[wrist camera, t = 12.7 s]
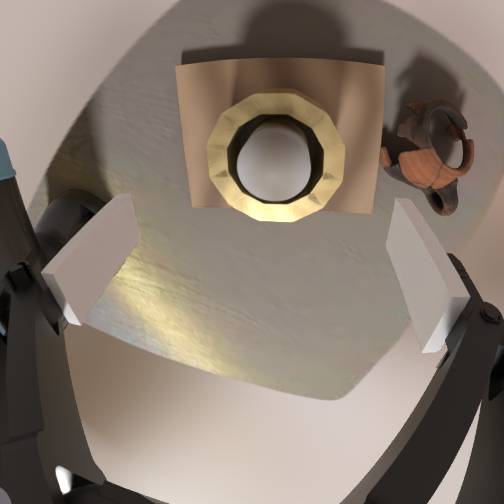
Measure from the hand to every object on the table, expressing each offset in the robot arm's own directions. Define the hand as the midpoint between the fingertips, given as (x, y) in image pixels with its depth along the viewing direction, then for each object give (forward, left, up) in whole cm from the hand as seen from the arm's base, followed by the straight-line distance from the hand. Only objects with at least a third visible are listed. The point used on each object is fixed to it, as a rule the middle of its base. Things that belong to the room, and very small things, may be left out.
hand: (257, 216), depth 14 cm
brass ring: (0, 0, -14) cm, 14 cm away
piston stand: (0, 0, -18) cm, 18 cm away
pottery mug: (+15, -1, -18) cm, 24 cm away
